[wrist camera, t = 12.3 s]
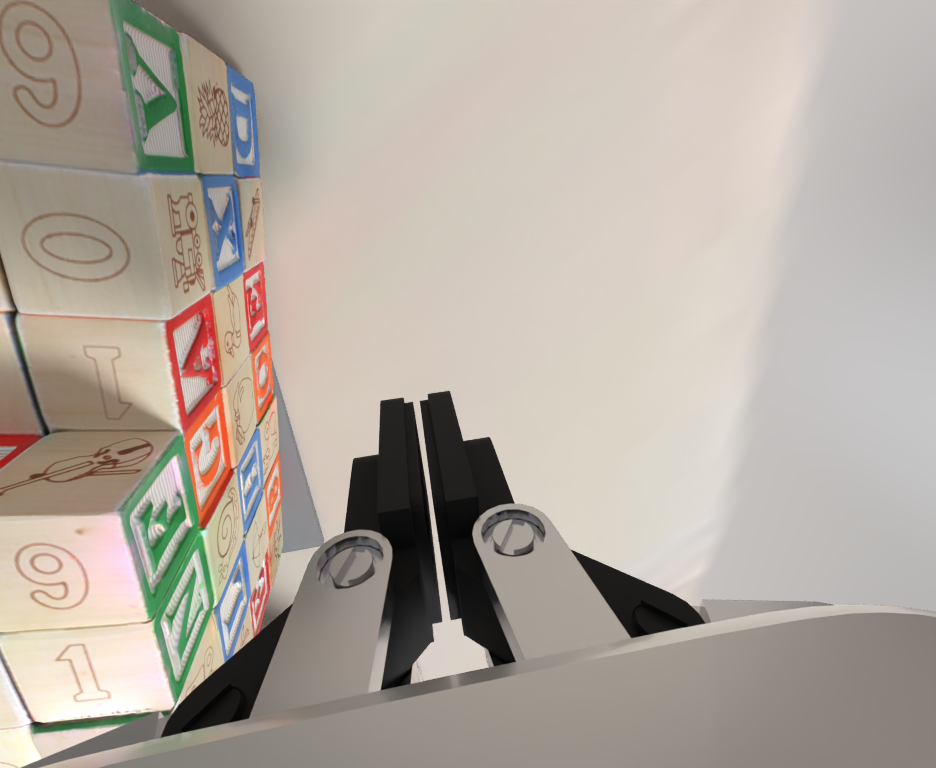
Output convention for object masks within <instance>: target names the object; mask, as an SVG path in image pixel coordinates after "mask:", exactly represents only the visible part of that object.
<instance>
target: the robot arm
mask: <svg viewBox="0 0 936 768" xmlns="http://www.w3.org/2000/svg"><path fill="white" fill-rule="evenodd" d="M420 406H421V413H422V421H423V429H424V436H425V444H426V452H427V459H428V467H429V475H430V483H431V490H432V498H433V505H434V512H435V519H436V525H437V532H438V539H439V545H440V552H441V558H442V565H443V572H444V578H445V585H446V591H447V598H448V605H449V611H450V618H451V620H454V619H459V618H461V619H462V626H463V632H464V636H467V637H469V638H470V639H472V640H473V641H475V642H476V643H478V644H480V645H481V646H483V647H484V649H485V655H486V660H487V663H488V665H489V668H485V669H480V670H475V671H470V672H465V673H461V674H456V675H451V676H446V677H442V678H437V679H432V680H427V681H423V679H422V674H421V672H420V670H419V668H418V666H417V662H416V660H417V659H418V658H419V656H420V655H421V654H422V653H423V651H424V650H425V649H426V648H427V646H428V645H429V644H430V643H431V642H434V638H433V627H432V624H434V623H439V622H442V615H441V606H440V597H439V589H438V580H437V572H436V563H435V554H434V546H433V537H432V529H431V520H430V511H429V503H428V495H427V489H426V482H425V476H424V470H423V463H422V457H421V450H420V444H419V438H418V431H417V425H416V418H415V412H414V406H413V402H410V403H404V398H397V399H390V400H383V401H381V403H380V432H379V455H372V456H366V457H359V458H354V459H353V464H352V472H351V480H350V488H349V497H348V505H347V513H346V521H345V529H344V533H343V534H340V535H338V536H335V537H333V538H332V539H330V540H329V541H327V542H326V543H324V544H323V545H322V546H321V547H320V548H319V549H318V550H317V551H316V552H315V553H314V555H313V556H312V558H311V560H310V562H309V563H308V566H307V569H306V571H305V574H304V576H303V579H302V582H301V584H300V587H299V589H298V592H297V595H296V597H295V600H294V602H293V604H292V605H291V606H290V607H288V608H287V609H286V610H285V611H284V612H283V613H281V614H280V615H279V616H278V617H277V618H276V619H275V620H273V621H272V622H271V623H270V624H269V625H268V626H266V627H265V628H264V629H263V630H262V631H261V632H260V633H258V634H257V635H256V636H255V637H254V638H253V639H251V640H250V641H249V642H248V643H247V644H246V645H245V646H243V647H242V648H241V649H240V650H239V651H238V652H236V653H235V654H234V655H233V656H232V657H231V658H230V659H228V660H227V661H226V662H225V663H224V664H223V665H221V666H220V667H219V668H218V669H217V670H216V671H215V672H213V673H212V674H211V675H210V676H209V677H208V678H206V679H205V680H204V681H203V682H202V683H201V684H200V685H198V686H197V687H196V688H195V689H194V690H193V691H192V692H191V693H190V694H189V695H188V696H187V697H186V698H185V699H184V700H183V701H182V702H181V703H180V704H179V705H178V706H177V708H176V709H175V711H174V712H173V713H172V714H169V715H167V716H165V717H164V716H163V714H162V713H161V711H160V710H159V711H157V712H154V713H152V714H149V715H147V716H145V717H142V718H140V719H137V720H135V721H132V722H130V723H128V724H125V725H123V726H120V727H118V728H115V729H113V730H111V731H108V732H106V733H103V734H101V735H98V736H96V737H94V738H91V739H89V740H86V741H84V742H81V743H79V744H77V745H74V746H72V747H69V748H67V749H64V750H62V751H60V752H57V753H55V754H52V755H50V756H47V757H45V758H43V759H40V760H38V761H35V762H33V763H30V764H28V765H26V766H23V767H21V768H936V612H934V611H927V610H920V609H913V608H906V607H899V606H884V605H858V604H848V605H833V604H827V603H821V602H805V601H803V602H802V601H754V600H753V601H752V600H702V601H701V606H690V605H689V604H688V603H687V602H686V601H684V600H682V599H680V598H679V597H677V596H675V595H673V594H671V593H669V592H667V591H665V590H662V589H660V588H658V587H655V586H653V585H651V584H649V583H646V582H644V581H642V580H639V579H637V578H635V577H632V576H630V575H628V574H626V573H623V572H621V571H619V570H616V569H614V568H612V567H609V566H607V565H605V564H603V563H600V562H598V561H596V560H593V559H591V558H589V557H587V556H584V555H582V554H580V553H577V552H575V551H573V550H570V548H569V547H568V545H567V544H566V543H565V541H564V540H563V538H562V537H561V535H560V534H559V532H558V531H557V529H556V528H555V527H554V525H553V524H552V522H551V521H550V520H549V519H548V517H547V516H546V515H545V514H544V513H543V512H541V511H539V510H537V509H535V508H534V507H530V506H527V505H523V504H515V503H514V501H513V498H512V495H511V492H510V490H509V487H508V484H507V482H506V479H505V476H504V474H503V471H502V468H501V465H500V463H499V460H498V457H497V455H496V452H495V449H494V446H493V444H492V441H491V439H490V438H489V437H486V438H480V439H474V440H467V441H463V439H462V435H461V431H460V427H459V424H458V420H457V416H456V412H455V409H454V405H453V401H452V397H451V394H450V391H445V392H438V393H431V394H428V400H424V401H420Z"/></svg>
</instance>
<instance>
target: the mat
mask: <svg viewBox="0 0 936 768" xmlns="http://www.w3.org/2000/svg"><path fill="white" fill-rule="evenodd" d="M271 361H272V359H271ZM272 378H273V392H274V394H275V395H276V398H277V413H278V427H279V452H280V466H281V482H282V502H281V511H282V529H283V548H282V552H281V553H285V552H291V551H296V550H302V549H307V548H313V547H318V546H322V545H323V544H324V538H323V535H322V531H321V528H320V524H319V521H318V517H317V514H316V511H315V507H314V504H313V500H312V497H311V493H310V490H309V486H308V483H307V480H306V476H305V473H304V469H303V466H302V462H301V459H300V455H299V452H298V448H297V445H296V442H295V438H294V435H293V431H292V428H291V424H290V421H289V417H288V414H287V411H286V407H285V404H284V400H283V397H282V393H281V390H280V386H279V383H278V380H277V376H276V373H275V369H274V366H273V362H272Z"/></svg>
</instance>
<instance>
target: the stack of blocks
mask: <svg viewBox="0 0 936 768" xmlns="http://www.w3.org/2000/svg"><path fill="white" fill-rule="evenodd" d="M265 257H266V248H265V230H264V214H263V197H262V185H261V179H260V175H259V151H258V136H257V122H256V109H255V94H254V87H253V83H252V82H250V81H249V80H248V79H246V78H245V77H244V76H242V75H241V74H240V73H238V72H237V71H236V70H234V69H233V68H232V67H231V66H229V65H228V64H227V63H224V61H223V60H222V59H221V58H219V57H218V56H217V55H215V54H214V53H213V52H211V51H210V50H209V49H207V48H206V47H204V46H203V45H201V44H200V43H199V42H197V41H196V40H194V39H193V38H192V37H190V36H188V35H187V34H185V33H183V32H179V31H176V30H175V29H174V28H172V27H171V26H169V25H168V24H166V23H165V22H164V21H162V20H161V19H159V18H157V17H156V16H154V15H153V14H151V13H150V12H148V11H147V10H145V9H144V8H142V7H141V6H139V5H138V4H136V3H135V2H133V1H132V0H0V768H21V767H23V766H26V765H28V764H30V763H33V762H35V761H38V760H40V759H43V758H45V757H47V756H50V755H52V754H55V753H57V752H60V751H62V750H64V749H67V748H69V747H72V746H74V745H77V744H79V743H81V742H84V741H86V740H89V739H91V738H94V737H96V736H98V735H101V734H103V733H106V732H108V731H111V730H113V729H115V728H118V727H120V726H123V725H125V724H128V723H130V722H132V721H135V720H137V719H140V718H142V717H145V716H147V715H149V714H152V713H154V712H157V711H159V710H160V711H161V713H162V714H163V716H164V717H165V716H167V715H169V714H172V713H173V712H174V711H175V709H176V708H177V706H178V705H179V704H180V703H181V702H182V701H183V700H184V699H185V698H186V697H187V696H188V695H189V694H190V693H191V692H192V691H193V690H194V689H195V688H196V687H197V686H198V685H200V684H201V683H202V682H203V681H204V680H205V679H206V678H208V677H209V676H210V675H211V674H212V673H213V672H215V671H216V670H217V669H218V668H219V667H220V666H221V665H223V664H224V663H225V662H226V661H227V660H228V659H230V658H231V657H232V656H233V655H234V654H235V653H236V652H238V651H239V650H240V649H241V648H242V647H243V646H245V645H246V644H247V643H248V642H249V641H250V640H251V639H253V638H254V637H255V636H256V635H257V634H258V633H259V631H260V628H261V624H262V620H263V616H264V612H265V608H266V604H267V600H268V597H269V593H270V591H269V590H270V589H272V587H273V586H274V582H275V577H276V573H277V569H278V565H279V561H280V556H281V552H282V548H283V529H282V511H281V502H282V482H281V466H280V452H279V427H278V413H277V398H276V395H275V394H274V392H273V378H272V361H271V347H270V334H269V332H268V330H267V305H266V292H265V278H264V265H263V260H264V259H265Z"/></svg>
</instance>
